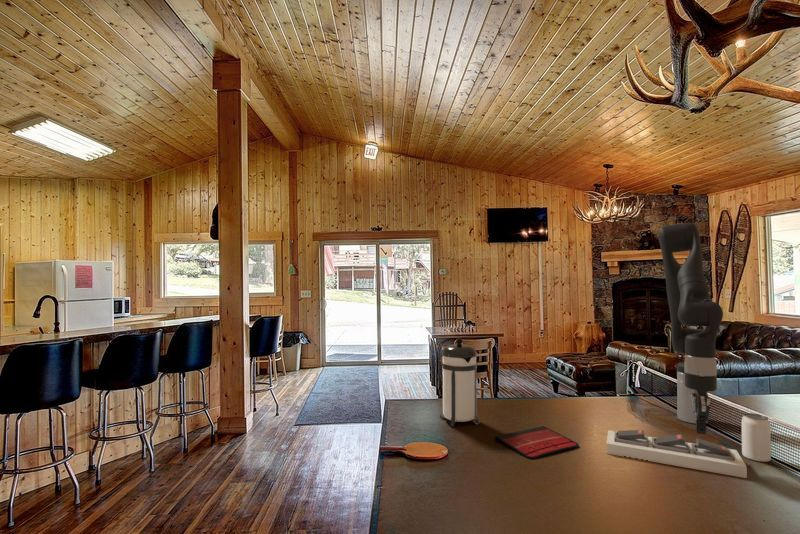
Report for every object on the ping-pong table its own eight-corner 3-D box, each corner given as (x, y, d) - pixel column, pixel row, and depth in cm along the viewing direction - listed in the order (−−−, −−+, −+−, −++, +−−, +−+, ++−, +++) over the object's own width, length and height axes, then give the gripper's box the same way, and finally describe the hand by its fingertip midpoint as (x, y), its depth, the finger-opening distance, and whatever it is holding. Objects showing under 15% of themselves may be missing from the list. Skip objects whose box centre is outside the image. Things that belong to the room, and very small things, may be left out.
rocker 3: (695, 441, 124) (696, 437, 124) (725, 451, 121) (726, 446, 121) (697, 447, 120) (699, 442, 120) (728, 457, 117) (729, 452, 117)
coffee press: (487, 418, 159) (487, 336, 159) (470, 431, 145) (470, 342, 146) (445, 410, 168) (445, 333, 169) (425, 421, 155) (425, 338, 155)
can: (776, 463, 121) (775, 420, 121) (750, 461, 122) (749, 419, 122) (762, 454, 127) (761, 413, 127) (737, 452, 128) (736, 412, 129)
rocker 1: (619, 434, 133) (618, 430, 134) (644, 433, 130) (643, 429, 130) (618, 439, 129) (617, 435, 130) (644, 438, 126) (643, 434, 126)
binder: (494, 435, 137) (542, 424, 147) (494, 442, 137) (542, 431, 147) (531, 456, 123) (582, 443, 132) (530, 464, 123) (581, 451, 132)
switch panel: (608, 439, 138) (608, 427, 138) (736, 460, 123) (736, 447, 123) (606, 453, 128) (606, 440, 128) (746, 478, 112) (746, 463, 112)
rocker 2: (657, 442, 129) (655, 437, 129) (683, 438, 126) (681, 433, 126) (658, 447, 125) (656, 442, 125) (685, 443, 122) (683, 438, 122)
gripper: (681, 366, 130) (682, 423, 129) (687, 375, 118) (687, 438, 118) (712, 368, 126) (712, 428, 126) (721, 378, 115) (721, 443, 114)
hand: (700, 433), depth 122 cm, fingers closed
